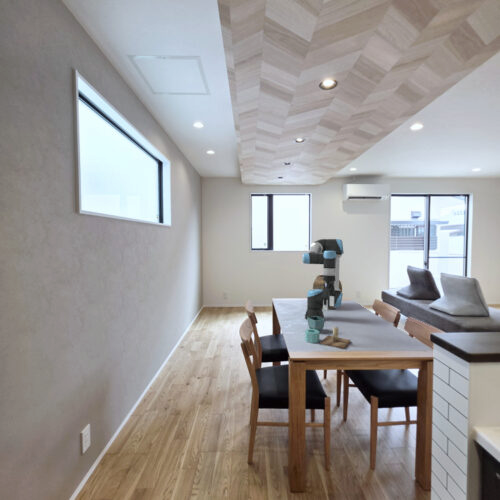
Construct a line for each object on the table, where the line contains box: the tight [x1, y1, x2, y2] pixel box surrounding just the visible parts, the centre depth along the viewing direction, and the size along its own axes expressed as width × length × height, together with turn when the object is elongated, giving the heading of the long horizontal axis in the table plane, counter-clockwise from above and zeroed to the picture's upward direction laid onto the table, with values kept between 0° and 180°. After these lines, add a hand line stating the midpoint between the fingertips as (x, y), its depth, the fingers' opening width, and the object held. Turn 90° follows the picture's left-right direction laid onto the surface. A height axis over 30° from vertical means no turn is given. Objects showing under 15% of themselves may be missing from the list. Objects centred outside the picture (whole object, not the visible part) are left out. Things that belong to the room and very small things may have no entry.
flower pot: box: [306, 316, 326, 333], centre depth 186 cm, size 9×9×9 cm
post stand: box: [319, 326, 351, 350], centre depth 164 cm, size 14×14×9 cm
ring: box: [304, 328, 320, 344], centre depth 168 cm, size 8×8×6 cm
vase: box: [312, 274, 343, 310], centre depth 251 cm, size 26×26×30 cm
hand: (328, 308), depth 173 cm, fingers open, 13 cm apart
